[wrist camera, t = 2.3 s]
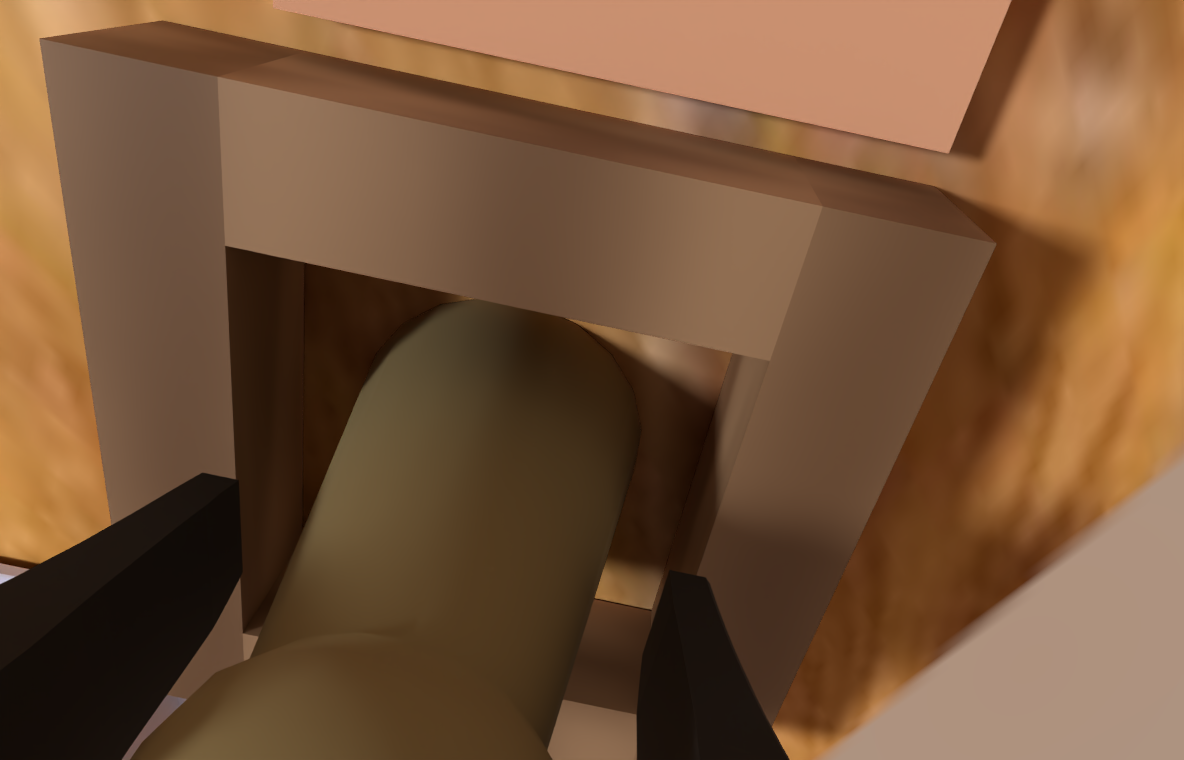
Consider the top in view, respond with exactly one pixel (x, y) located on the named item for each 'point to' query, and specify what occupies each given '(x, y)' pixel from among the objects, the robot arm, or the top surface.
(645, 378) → the top surface
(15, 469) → the top surface
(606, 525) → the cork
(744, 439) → the walnut holder
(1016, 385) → the top surface
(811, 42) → the terracotta tile
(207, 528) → the robot arm
